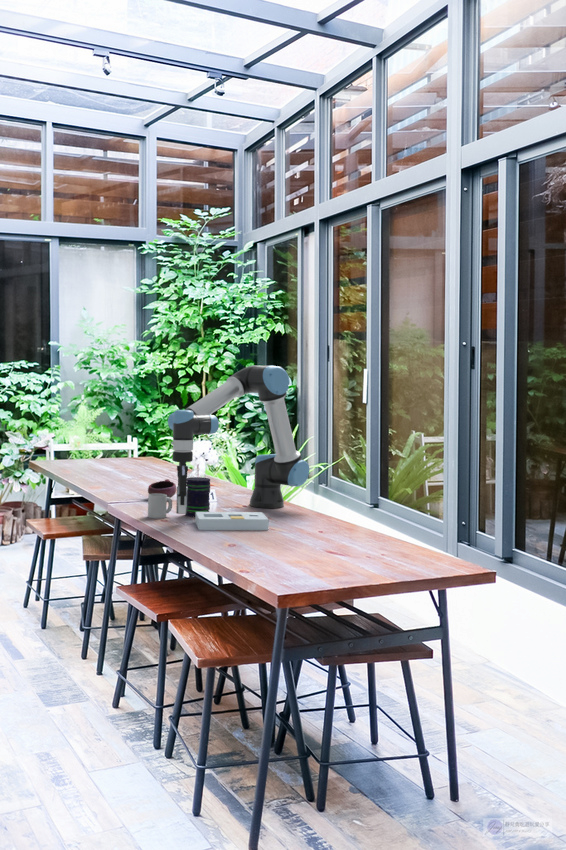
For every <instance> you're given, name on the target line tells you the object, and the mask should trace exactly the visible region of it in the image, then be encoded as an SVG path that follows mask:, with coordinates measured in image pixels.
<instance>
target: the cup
mask: <svg viewBox="0 0 566 850" xmlns="http://www.w3.org/2000/svg"><path fill="white" fill-rule="evenodd" d="M167 506H168V507H167ZM172 510H173V500H172V498H169V497H167V495H166V494H157V493H156V494H149V493H148V502H147V517H148V518H149V519H155V520H156V519H157V520H158V519H159V520H161V519H165V518H166V517H167V514H169V513H170V512H172Z"/></svg>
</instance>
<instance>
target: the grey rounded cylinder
mask: <svg viewBox="0 0 566 850" xmlns="http://www.w3.org/2000/svg"><path fill="white" fill-rule="evenodd" d="M186 493H187V486H186ZM177 495H179V486H178V485H176V508H175V509H176V510H175V512H176V514H178V502H179V496H177ZM186 513H187V495H186ZM178 515H179V514H178Z"/></svg>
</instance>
